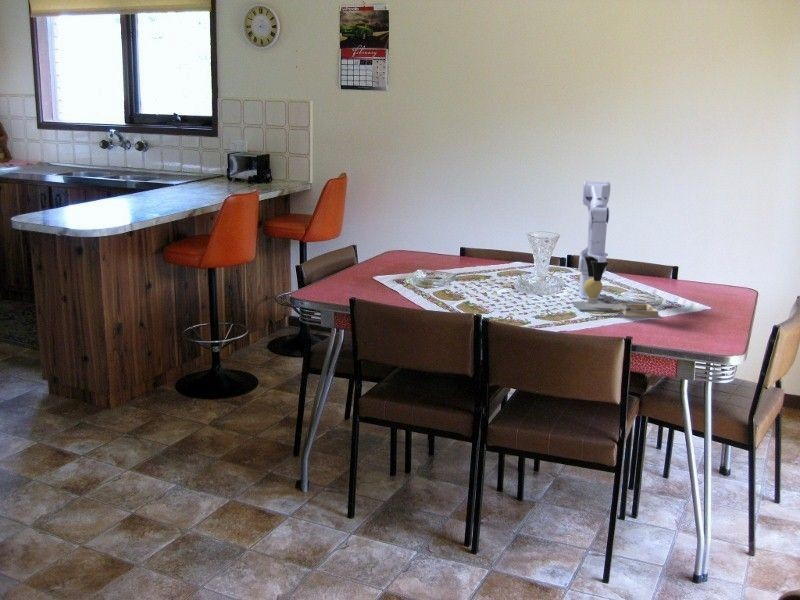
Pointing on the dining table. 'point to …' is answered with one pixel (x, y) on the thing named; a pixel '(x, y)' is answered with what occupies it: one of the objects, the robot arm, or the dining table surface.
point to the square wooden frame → (640, 311)
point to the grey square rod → (609, 306)
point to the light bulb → (592, 290)
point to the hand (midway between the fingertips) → (594, 278)
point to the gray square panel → (582, 307)
